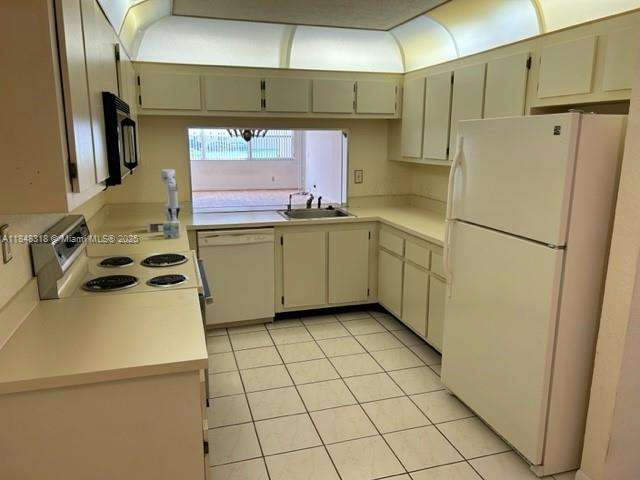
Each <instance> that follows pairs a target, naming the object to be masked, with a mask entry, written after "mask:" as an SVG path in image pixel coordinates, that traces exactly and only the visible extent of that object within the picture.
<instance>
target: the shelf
mask: <svg viewBox="0 0 640 480" xmlns="http://www.w3.org/2000/svg"><path fill="white" fill-rule="evenodd" d="M163 223H164V222H163ZM163 223H162V222H161V223H160V222H159V223H150V228H151V232H150V233H149V234H151V233H159V232H158V226H161V225H163Z"/></svg>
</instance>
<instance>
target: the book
mask: <svg viewBox="0 0 640 480" xmlns="http://www.w3.org/2000/svg"><path fill="white" fill-rule="evenodd" d="M157 233H164V232H163V225H161V226H158V232H157Z"/></svg>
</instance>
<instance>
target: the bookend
mask: <svg viewBox="0 0 640 480" xmlns="http://www.w3.org/2000/svg"><path fill="white" fill-rule="evenodd" d="M150 224H151V219H150V218H147V219H146V231H147V234H151V233H150V232H151V228H150Z"/></svg>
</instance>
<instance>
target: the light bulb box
mask: <svg viewBox="0 0 640 480" xmlns="http://www.w3.org/2000/svg"><path fill="white" fill-rule="evenodd" d="M162 233H163V239H180V238H181V221H180V220H177V221H167V220H165V221H163V232H162Z"/></svg>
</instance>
